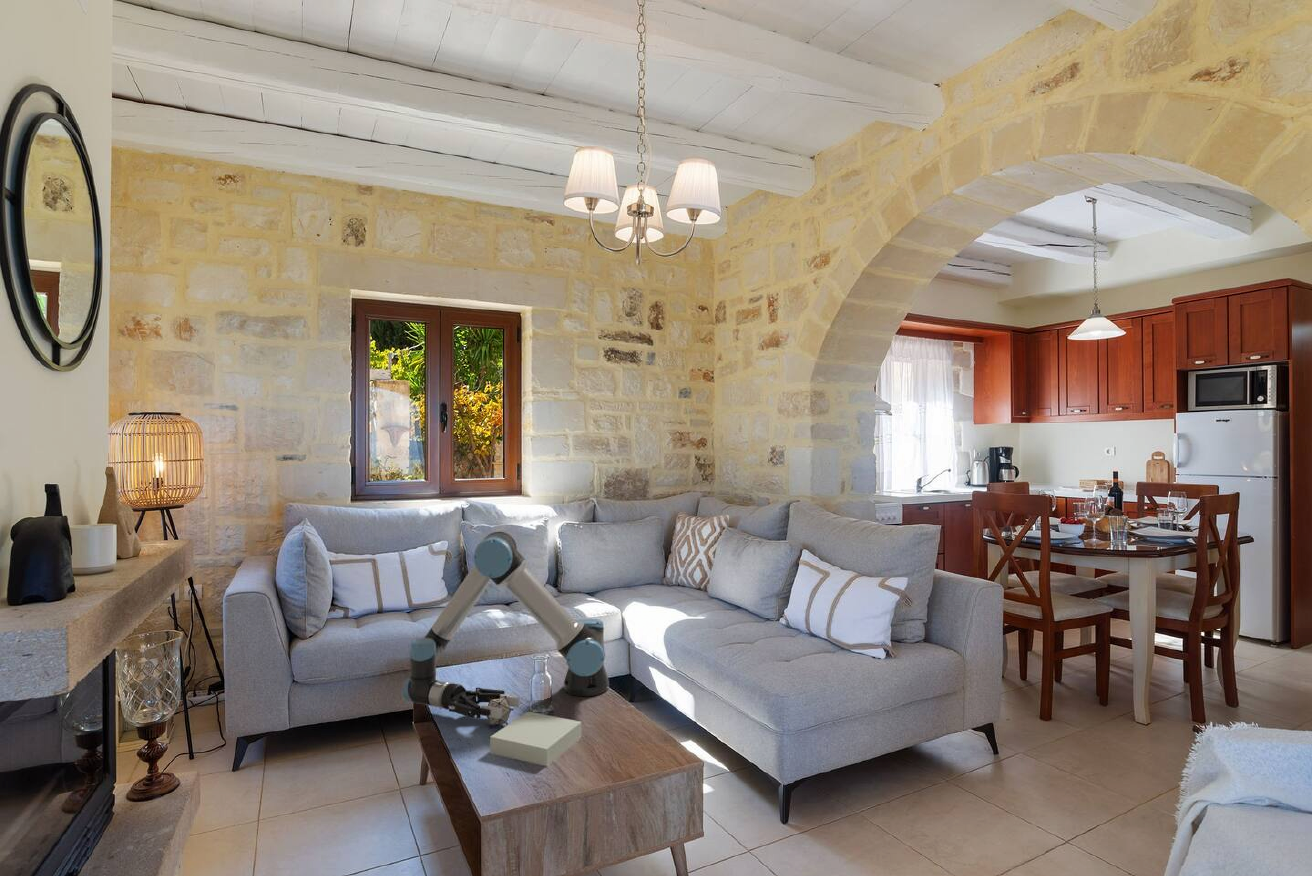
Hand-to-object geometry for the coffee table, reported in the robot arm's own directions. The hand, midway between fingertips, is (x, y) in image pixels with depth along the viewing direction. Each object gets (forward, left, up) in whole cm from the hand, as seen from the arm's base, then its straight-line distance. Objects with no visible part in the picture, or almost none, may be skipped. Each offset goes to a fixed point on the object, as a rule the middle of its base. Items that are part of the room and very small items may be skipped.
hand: (509, 708), depth 204 cm
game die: (-1, -5, -6) cm, 8 cm away
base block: (+6, +13, -6) cm, 16 cm away
